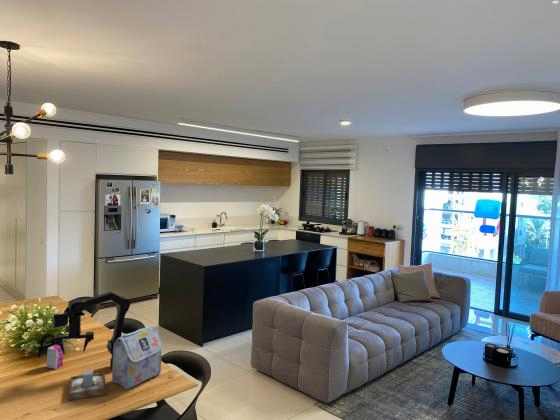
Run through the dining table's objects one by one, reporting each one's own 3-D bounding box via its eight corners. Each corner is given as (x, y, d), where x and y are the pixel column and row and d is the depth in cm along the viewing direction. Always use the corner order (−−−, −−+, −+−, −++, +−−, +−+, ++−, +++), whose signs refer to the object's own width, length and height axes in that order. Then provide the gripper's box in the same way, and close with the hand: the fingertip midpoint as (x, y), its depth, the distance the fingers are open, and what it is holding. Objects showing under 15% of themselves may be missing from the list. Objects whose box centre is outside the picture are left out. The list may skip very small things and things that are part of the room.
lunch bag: (129, 392, 205) (131, 341, 204) (108, 382, 214) (110, 333, 213) (164, 376, 224) (166, 328, 223) (144, 367, 233) (145, 321, 232)
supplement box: (55, 369, 225) (56, 349, 225) (46, 368, 226) (46, 348, 226) (63, 365, 231) (63, 345, 230) (54, 364, 232) (54, 344, 231)
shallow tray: (104, 378, 218) (104, 372, 218) (105, 395, 202) (105, 388, 202) (70, 383, 212) (70, 376, 211) (68, 400, 195) (68, 393, 195)
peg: (92, 385, 210) (92, 370, 209) (92, 389, 205) (92, 373, 205) (82, 386, 208) (83, 371, 207) (82, 390, 204) (82, 375, 203)
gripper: (94, 317, 228) (93, 345, 229) (55, 321, 220) (55, 349, 221) (94, 324, 218) (93, 353, 219) (54, 328, 210) (53, 357, 211)
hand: (74, 353), depth 218 cm, fingers open, 9 cm apart
